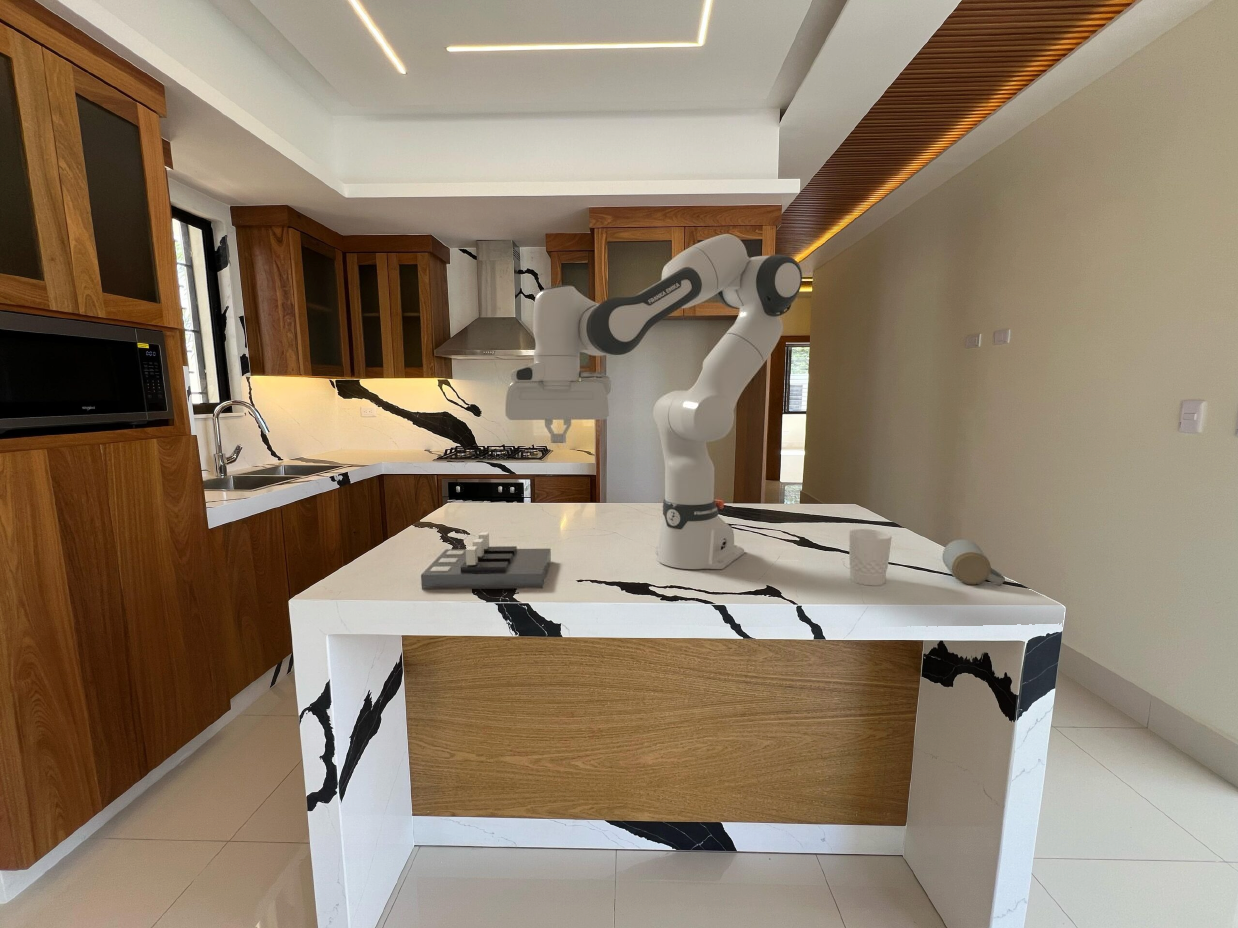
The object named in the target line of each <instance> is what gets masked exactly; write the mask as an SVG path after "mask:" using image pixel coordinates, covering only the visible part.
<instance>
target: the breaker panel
mask: <svg viewBox="0 0 1238 928" xmlns="http://www.w3.org/2000/svg"><path fill="white" fill-rule="evenodd" d="M466 549H467V548H462V549H461V548H458V549H455V548H454V549H453V548H450V549H449V548H447V549H445V550H443V552H442V553H440V555H439V556H438V557H437V558H436V559H435V560H433V562H431V564H430V565H429V566H428V567H427V568H426V569H425V570H424V571H423V572H422V573H421V574H420V578H421V579H420V580H421V581H420V584H421V590H463V589H464V590H465V589H469V590H471V589H473V590H477V589H479V590H481V589H482V590H483V589H484V590H485V589H486V590H487V589H488V590H489V589H490V590H493V589H543V587H544V583H545V581H546V577H547V575H548V571H549V568H550V565H551V562H552V558H551V556H552V554H551V550H552V549H551V548H517V546H516V545H515V546H514V545H513V546H505V545H504V546H502V545H501V546H489V547H488V548H487V549H484V554H483V555H482V556H481V557H478V562H477V563H476V565H466Z"/></svg>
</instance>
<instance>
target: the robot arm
mask: <svg viewBox="0 0 1238 928" xmlns="http://www.w3.org/2000/svg"><path fill="white" fill-rule="evenodd" d="M802 271H803V270H802V268H801V265H800V264H799V262H798V261H797V260H796V259H795V258H793V257H791V256H788V255H784V254H772V255H759V256H753V257H749V256H748V253H747V249H746V246H745V245H744V243H743V242H742V240H741V239H740V238H738V237H737V236H735V235H734V234H729V233H723V234H721V235H720V234H719V235H717V236H713V237H710V238H707V239H704V240H702V241H700V242H698V243H696V244H694V245H692V246H690V247H688V248H687V249H685V250H683V251H681V252H680V253H678V254H677V255H676V256H674V257H673V258H672V259H671V260H669V261H668V262H667V263H666V264H665V265H664V266H663V269H662V271H661V280H660V281H658V282H656V283H654V284H652V285H651V286H649V287H647V288H646V289H644V290H642V291H641V292H639V293H638V294H635V295H633V296H627V297H626V296H623V297H622V296H621V297H611V298H608V299H605V300H603V301H602V302H601V303H597V302H596V301H593V300H591V299H589V298H588V297H586V296H584V295H583V294H582V293H580V292H579V291H578V290H577V289H576V288H575V286H573V285H571V284H569V285H568V284H561V285H560V284H559V285H554V286H550V287H546V288H544V289H542V290H540V291H539V292H538V293H537V295H536V296H535V299H534V303H533V304H534V305H533V313H532V316H533V317H532V318H533V319H532V331H533V332H532V333H533V337H534V341H535V349H534V353H533V363H531V364H527V365H524V366H522V367H518V368H515V369H512V370H511V371H510V380H511V381H513V382H511V384H509V386H508V387H507V391H506V394H505V395H506V396H505V416H506V417H507V419H508V420H509V421H543V420H544V427H545V429H546V430H547V432H548V433H549V435H550V443H551V444H566V443H567V434H568V431H569V430H570V428H571V426H572V420H574V421H575V420H576V421H579V420H581V421H582V420H586V421H587V420H591V421H592V420H596V421H598V420H603V421H604V420H606V419H607V418H608V417H609V416H610V407H609V398H608V395H609V394H610V392H611V389H612V388H611V385H612V384H611V383H612V382H611V378H610V377H609V375H607V374H604V372H601V371H596V372H589V371H580V370H581V367H580V366H581V365H580V363H581V362H580V353H583V354H587V355H589V356H594V357H595V356H597V357H599V356H606V355H607V356H610V355H612V356H621V355H622V356H623V355H626V354H628V353H630V352H632V351H633V350H635V349H636V348H637V346H639V344H640V343H641V341H642V340H643V338H644V337H645V336H646V334H647V333H648V332H649V330H650V329H651V328H652V327H653V326H654V325H656V324H658V323H659V322H660V321H663V319H665V318H667V317H669V316H670V315H671V314H673V313H674V312H676V311H678V310H679V309H687V308H690V307H693V306H696V305H698V304H700V303H703V302H705V301H708V300H709V299H710V298H712V297H713V296H716V298H717V299H718V300H719V302H720V303H721V304H722V305H723V306H725V307H727V308H731V309H735V310H737V309H739V312H738V316H737V318H736V320H735V321H734V323H733V324H732V325H731V327H729V329H728V330H727V332H725V334H724V335H723V336H722V337H721V338H720V340H719V341H718V342H717V343H716V345H714V347H713V348H712V350H711V351H710V352H709V353H708V355H707V356H706V357H705V358H704V360H703V362H702V369H701V372H700V374H699V376H698V378H697V380H696V382H695V383H694V385H693V386H692V387H691V388H689V389H687V390H683V389H682V390H680V389H679V390H673V391H670V392H668V393H667V394H664V395H662V396H661V397H659V398H658V400H657V401H656V403H655V404H654V407H653V412H652V413H653V414H652V415H653V421H654V423H655V424H656V427H657V429H658V435H659V438H660V444H661V451H662V454H663V455H662V456H663V461H664V495H665V496H664V499H663V500H662V515H663V516H664V517H663V519H661V521H660V529H659V539H658V546H657V547H655V553H656V555H657V557H656V558H657V560H658V562H659V563H660V564H662V565H665V566H667V567H671V568H677V569H683V570H702V569H703V570H705V569H709V570H710V569H711V570H722V569H724V568H725V567H727V566H728V565H730V564H732V563H733V562H734V561H735V560H736V559H738V558H740V557H741V556H742V555H744V554H745V548H743V547H741V546H739V545H737V544H735V533H734V529H733V528H732V527H731V526H730V525H729V524H728V523H727V522H725V520H724V519H722V518H721V517H720V516H719V511H718V509H723V508H724V506H725V501H724V500H723V499H718V498H717V499H714V494H715V466H714V463H713V461H712V459H711V457H710V454H709V452H708V447H707V443H710V442H715V441H718V440H721V439H723V438H725V437H726V436H727V435H728V434H729V433H730V431H731V430H732V428H733V425H734V421H735V413H734V410H735V407H736V405H737V403H738V400H739V398H740V397H741V395H742V393H743V391H744V390H745V388H746V386H748V384H750V382H751V380H752V379H753V378H754V376H755V375H756V374H757V373H758V372H759V370H760V369H761V368H762V366H763V365H764V364H765V363H766V361H767V359H768V358H769V357H770V355H771V354H772V352H773V351H774V349H775V348H776V346H777V344H778V342H779V341H780V338H781V336H782V334H783V330H784V324H783V321H782V319H781V316H782V315H784V314H786V313H787V312H789V311H790V310H791V306H792V304H793V303H794V302H795V300H796V299H797V297H798V295H799V293H800V291H801V288H802V284H803V283H802V282H803V272H802ZM554 420H555V421H557V420H559V421H562V420H563V426H565V428H564V429H563V431H562V432H560V433H559V432H558V433H555V431H554V430H553V428H552V426H553V424H554Z"/></svg>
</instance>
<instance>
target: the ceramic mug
mask: <svg viewBox="0 0 1238 928" xmlns="http://www.w3.org/2000/svg"><path fill="white" fill-rule="evenodd" d="M941 557H942V562H943V565H944V566H945V567H946V568H947V569H948V571H949V572H950V574H951V575H952V577H954V578H955V579H956V580H957V581H959V582H961V583H962V584H966V585H978V584H981V583H983V582H985V581H989V582H990V583H993V584H995V585H998V586H1001V585H1003V584H1004V582H1005V580H1006V577H1005V576H1004V575H1003V574H1001V573H1000V572H998V571H997V570H996V569H994V568H993V567H992V566H991V562H990V560H989V559H988V557H987V556H986V555H985V553H984V552H983V550H982V548H981V547H980V546H979V545H978V544H976V543H975V542H973V541H972V540H968V539H956V540H953V541H950V542H949V543H948V544H947V545H946V546H945V547H944V549H943V551H942V556H941Z"/></svg>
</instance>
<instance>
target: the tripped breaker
mask: <svg viewBox="0 0 1238 928" xmlns="http://www.w3.org/2000/svg"><path fill="white" fill-rule="evenodd" d="M465 549H466V565H476V563H477V562H478V554H477V546H473V545H472V546H467V548H465Z"/></svg>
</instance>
